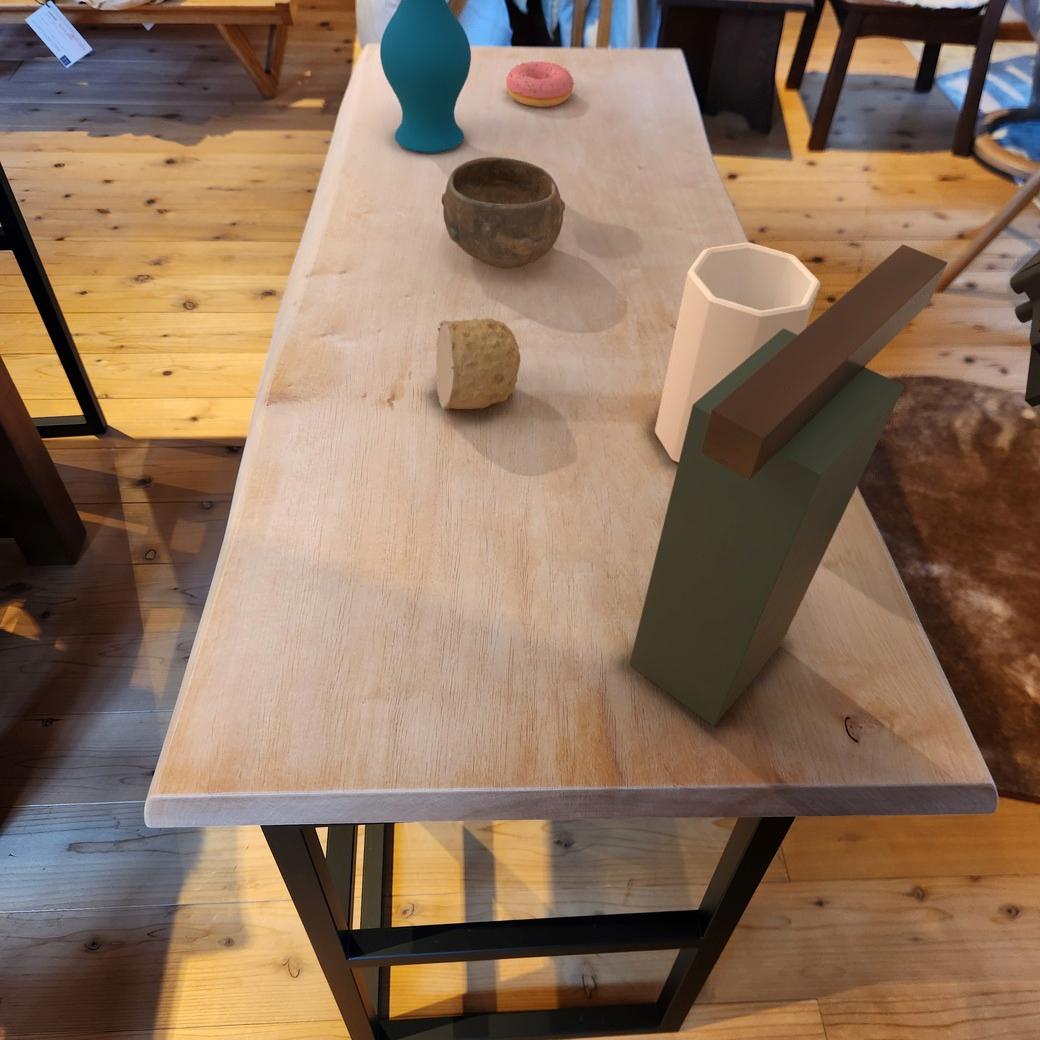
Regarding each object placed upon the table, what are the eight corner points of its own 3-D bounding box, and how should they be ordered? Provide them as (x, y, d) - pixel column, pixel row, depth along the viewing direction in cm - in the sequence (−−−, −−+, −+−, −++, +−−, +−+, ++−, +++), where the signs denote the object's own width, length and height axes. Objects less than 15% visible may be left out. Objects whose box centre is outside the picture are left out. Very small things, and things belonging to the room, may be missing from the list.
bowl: (529, 300, 100) (533, 222, 93) (417, 264, 105) (413, 186, 97) (578, 246, 109) (585, 170, 101) (473, 214, 113) (472, 139, 105)
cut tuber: (400, 317, 85) (490, 276, 84) (444, 391, 92) (528, 354, 91) (404, 371, 79) (502, 327, 77) (451, 446, 86) (542, 407, 84)
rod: (929, 303, 55) (948, 262, 52) (748, 481, 43) (763, 437, 41) (885, 285, 56) (902, 243, 54) (699, 452, 45) (711, 409, 42)
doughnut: (499, 84, 142) (500, 57, 138) (563, 81, 143) (565, 54, 140) (513, 112, 135) (513, 84, 131) (580, 108, 136) (582, 81, 133)
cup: (631, 431, 86) (661, 268, 72) (705, 387, 91) (745, 227, 77) (715, 494, 80) (764, 331, 66) (788, 444, 85) (848, 282, 71)
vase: (387, 122, 130) (369, -97, 110) (469, 122, 132) (467, -96, 111) (387, 159, 123) (368, -71, 102) (474, 158, 124) (473, -69, 103)
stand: (781, 645, 69) (904, 385, 49) (713, 727, 64) (821, 475, 44) (699, 591, 72) (783, 327, 52) (628, 664, 67) (692, 404, 47)
